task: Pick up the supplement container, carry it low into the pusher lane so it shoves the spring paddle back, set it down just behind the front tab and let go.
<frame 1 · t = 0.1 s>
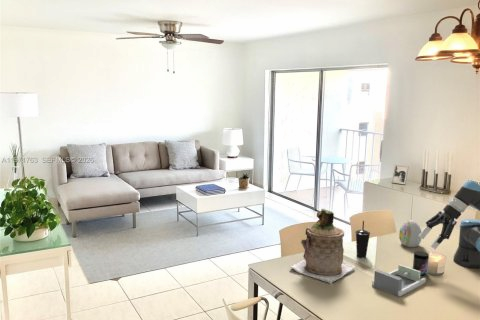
hand: (426, 242, 201), 15 cm above the table, tool tilted 35°, fingers open, 13 cm apart
cookie jar: (322, 270, 205), on the table
decorative egg: (409, 245, 241), on the table
drinking cup: (361, 256, 222), on the table
supplement container: (419, 274, 201), on the table
pusher lane: (398, 284, 189), on the table
spring paddle: (406, 274, 193), point 3 cm above the table, slide at 0.0 cm
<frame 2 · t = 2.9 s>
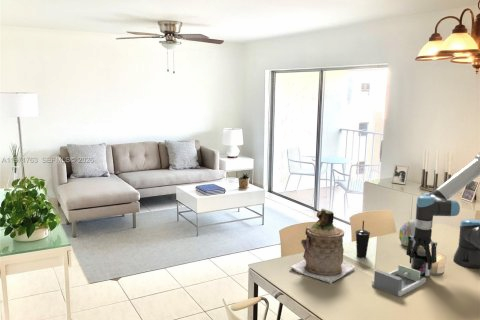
hand: (419, 272, 201), 1 cm above the table, tool pointing down, fingers closed on supplement container, 7 cm apart
supplement container: (419, 274, 201), on the table, touching gripper
everything else where it was.
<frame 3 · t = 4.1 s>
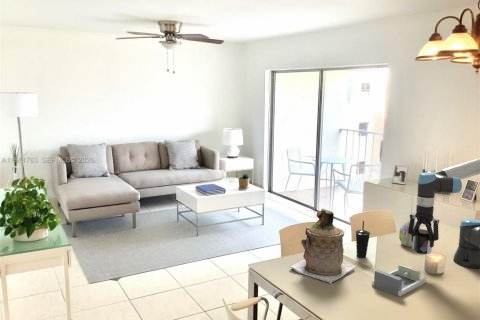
hand: (421, 250, 199), 12 cm above the table, tool pointing down, fingers closed on supplement container, 7 cm apart
supplement container: (421, 252, 199), point 11 cm above the table, touching gripper
everything else where it was.
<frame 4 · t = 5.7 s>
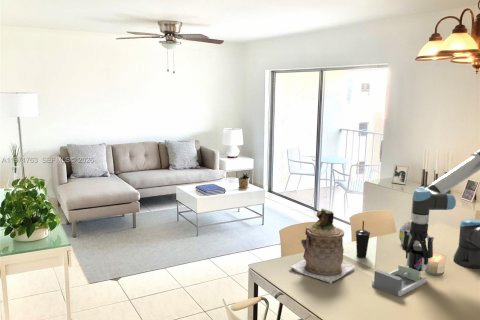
hand: (416, 267, 198), 4 cm above the table, tool pointing down, fingers closed on supplement container, 7 cm apart
supplement container: (415, 269, 198), point 3 cm above the table, touching gripper
everything else where it was.
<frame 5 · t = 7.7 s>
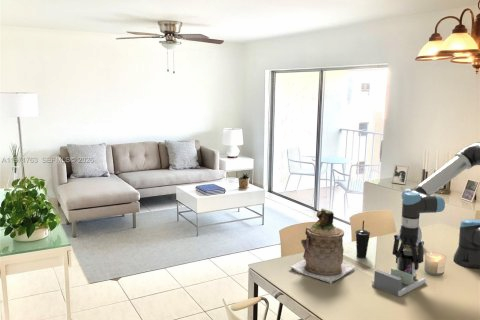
hand: (406, 272, 192), 4 cm above the table, tool pointing down, fingers closed on supplement container, 7 cm apart
supplement container: (406, 274, 192), point 3 cm above the table, touching gripper
spring paddle: (399, 277, 189), point 3 cm above the table, slide at 6.5 cm
everything else where it was.
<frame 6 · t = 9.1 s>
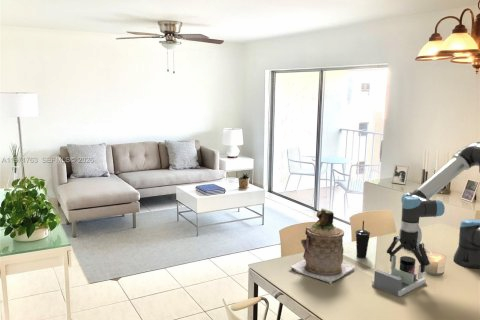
hand: (406, 273, 192), 4 cm above the table, tool pointing down, fingers open, 13 cm apart
supplement container: (406, 280, 193), resting on pusher lane, spring paddle
spring paddle: (399, 277, 189), point 3 cm above the table, slide at 6.2 cm, touching supplement container
everything else where it was.
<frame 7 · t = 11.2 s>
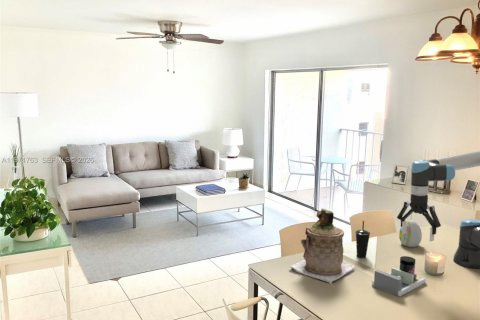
hand: (417, 237, 196), 19 cm above the table, tool pointing down, fingers open, 13 cm apart
nothing on the table moved.
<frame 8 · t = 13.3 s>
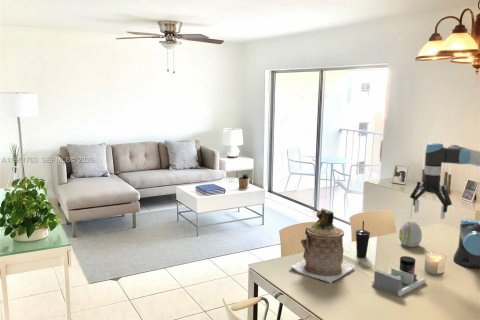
hand: (429, 215, 207), 27 cm above the table, tool pointing down, fingers open, 13 cm apart
nothing on the table moved.
at the end: supplement container 0.6 cm from the target spot on the pusher lane, point 0.2 cm above the pusher lane's base; supplement container tilted 0°; spring paddle slide at 6.2 cm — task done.
